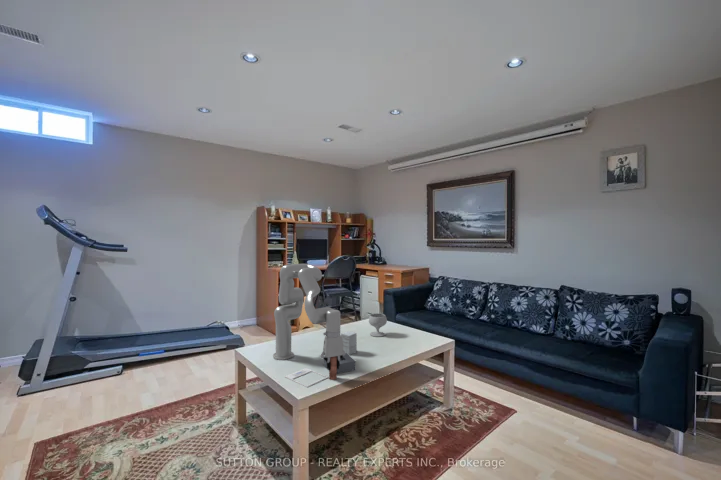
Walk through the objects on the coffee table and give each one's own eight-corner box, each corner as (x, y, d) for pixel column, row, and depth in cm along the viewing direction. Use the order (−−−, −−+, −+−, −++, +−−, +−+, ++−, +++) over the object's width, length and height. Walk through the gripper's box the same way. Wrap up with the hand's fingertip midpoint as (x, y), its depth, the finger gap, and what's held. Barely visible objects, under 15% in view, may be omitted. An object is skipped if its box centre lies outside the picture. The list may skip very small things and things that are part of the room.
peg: (328, 377, 167) (328, 351, 167) (335, 376, 169) (335, 350, 169) (330, 380, 163) (330, 353, 163) (337, 379, 165) (338, 352, 165)
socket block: (323, 364, 184) (323, 356, 184) (346, 361, 189) (346, 352, 189) (331, 374, 171) (331, 365, 171) (355, 370, 177) (355, 361, 177)
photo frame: (306, 367, 178) (328, 376, 167) (306, 369, 178) (328, 378, 167) (284, 375, 167) (307, 386, 155) (284, 378, 167) (307, 388, 155)
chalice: (367, 332, 249) (367, 313, 249) (384, 331, 251) (384, 312, 251) (370, 337, 235) (370, 317, 235) (388, 337, 238) (389, 317, 238)
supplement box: (348, 349, 209) (348, 330, 209) (356, 352, 205) (357, 332, 205) (340, 352, 204) (340, 333, 204) (349, 355, 199) (349, 335, 199)
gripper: (320, 337, 159) (319, 374, 159) (350, 333, 166) (350, 368, 166) (315, 333, 166) (315, 368, 166) (345, 330, 173) (345, 363, 173)
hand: (333, 368), depth 166 cm, fingers closed on peg, 4 cm apart
